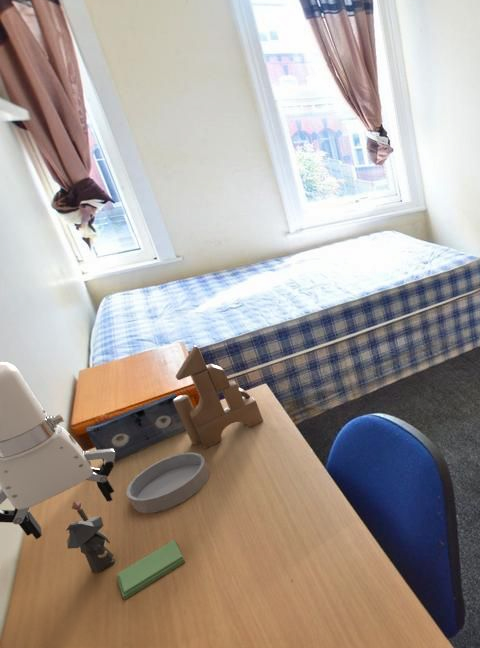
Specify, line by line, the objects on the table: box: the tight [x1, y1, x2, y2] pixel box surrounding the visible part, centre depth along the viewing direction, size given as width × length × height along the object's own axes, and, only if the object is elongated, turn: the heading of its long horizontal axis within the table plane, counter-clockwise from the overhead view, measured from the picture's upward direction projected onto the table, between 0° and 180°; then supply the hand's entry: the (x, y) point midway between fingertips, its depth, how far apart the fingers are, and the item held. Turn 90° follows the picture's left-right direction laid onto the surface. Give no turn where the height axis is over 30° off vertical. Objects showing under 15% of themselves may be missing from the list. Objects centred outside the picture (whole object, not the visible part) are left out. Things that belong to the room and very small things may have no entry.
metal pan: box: [125, 452, 210, 514], centre depth 102 cm, size 14×14×4 cm
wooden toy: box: [173, 344, 264, 449], centre depth 115 cm, size 16×7×25 cm, turn 136°
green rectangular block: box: [116, 539, 186, 600], centre depth 83 cm, size 9×6×1 cm, turn 137°
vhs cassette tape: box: [85, 392, 186, 463], centre depth 116 cm, size 18×3×10 cm, turn 133°
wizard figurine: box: [65, 500, 116, 574], centre depth 83 cm, size 8×6×12 cm
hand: (75, 514), depth 81 cm, fingers open, 9 cm apart
